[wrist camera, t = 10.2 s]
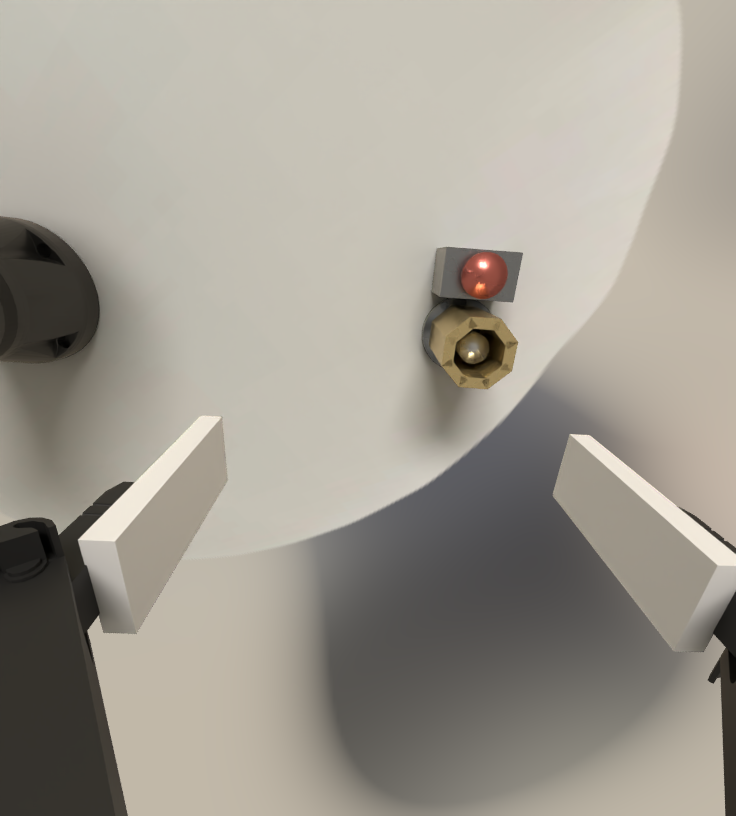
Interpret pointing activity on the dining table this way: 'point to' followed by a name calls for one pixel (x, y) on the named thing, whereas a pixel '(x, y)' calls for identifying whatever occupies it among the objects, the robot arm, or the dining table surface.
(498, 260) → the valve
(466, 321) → the tan octagonal tube
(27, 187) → the dining table surface
